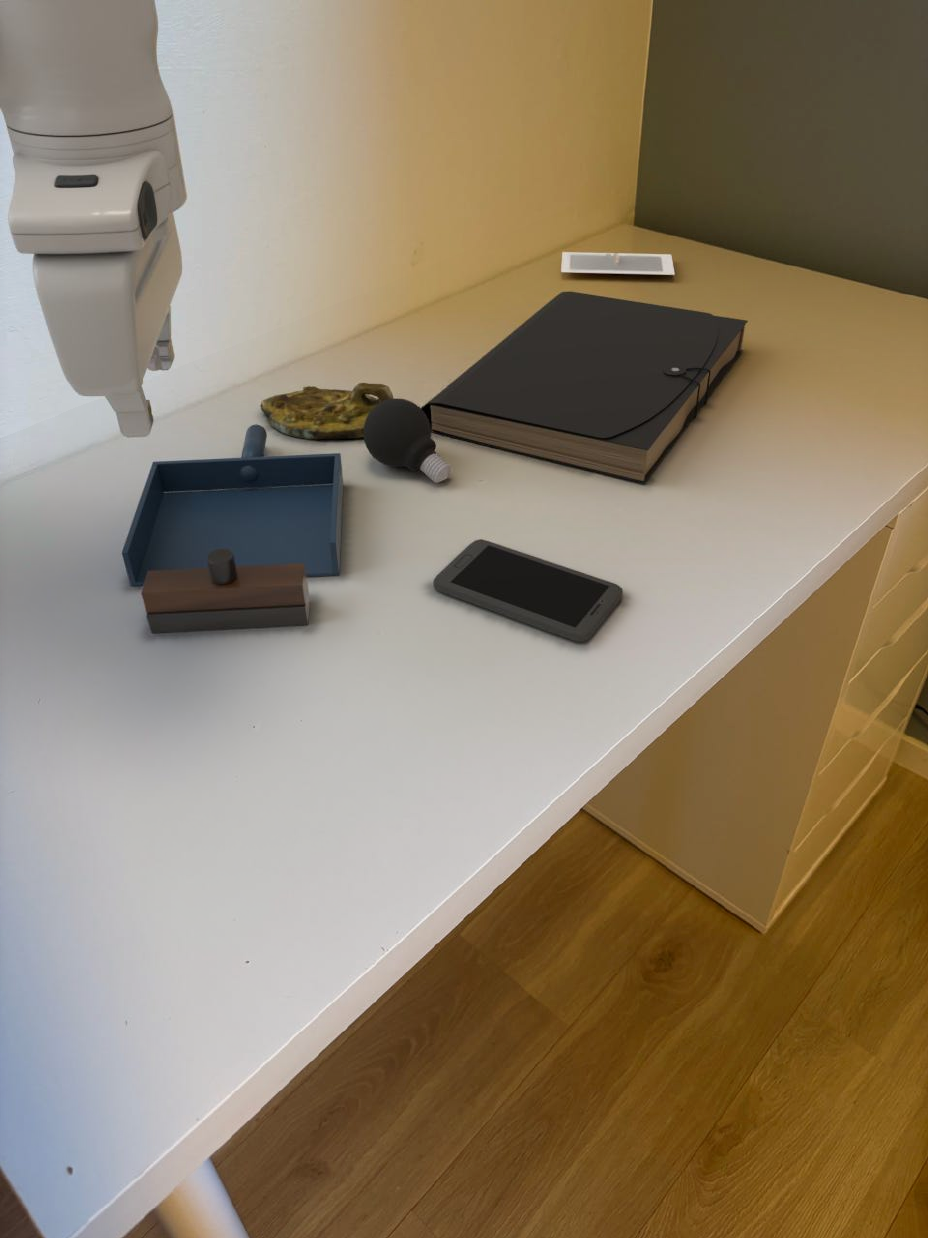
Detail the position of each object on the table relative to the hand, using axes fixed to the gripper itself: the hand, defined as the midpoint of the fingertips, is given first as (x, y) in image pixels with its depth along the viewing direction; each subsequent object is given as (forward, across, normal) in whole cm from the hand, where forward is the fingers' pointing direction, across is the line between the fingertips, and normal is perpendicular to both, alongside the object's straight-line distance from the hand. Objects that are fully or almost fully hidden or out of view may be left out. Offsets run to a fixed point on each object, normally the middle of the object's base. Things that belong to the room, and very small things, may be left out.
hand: (150, 397), depth 65 cm
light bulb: (+19, -22, +18) cm, 34 cm away
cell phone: (+19, -1, +26) cm, 32 cm away
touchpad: (+19, -72, +48) cm, 88 cm away
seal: (+19, -33, +10) cm, 39 cm away
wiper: (+19, -1, +2) cm, 19 cm away
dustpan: (+19, -17, +3) cm, 26 cm away
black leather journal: (+19, -37, +38) cm, 56 cm away
